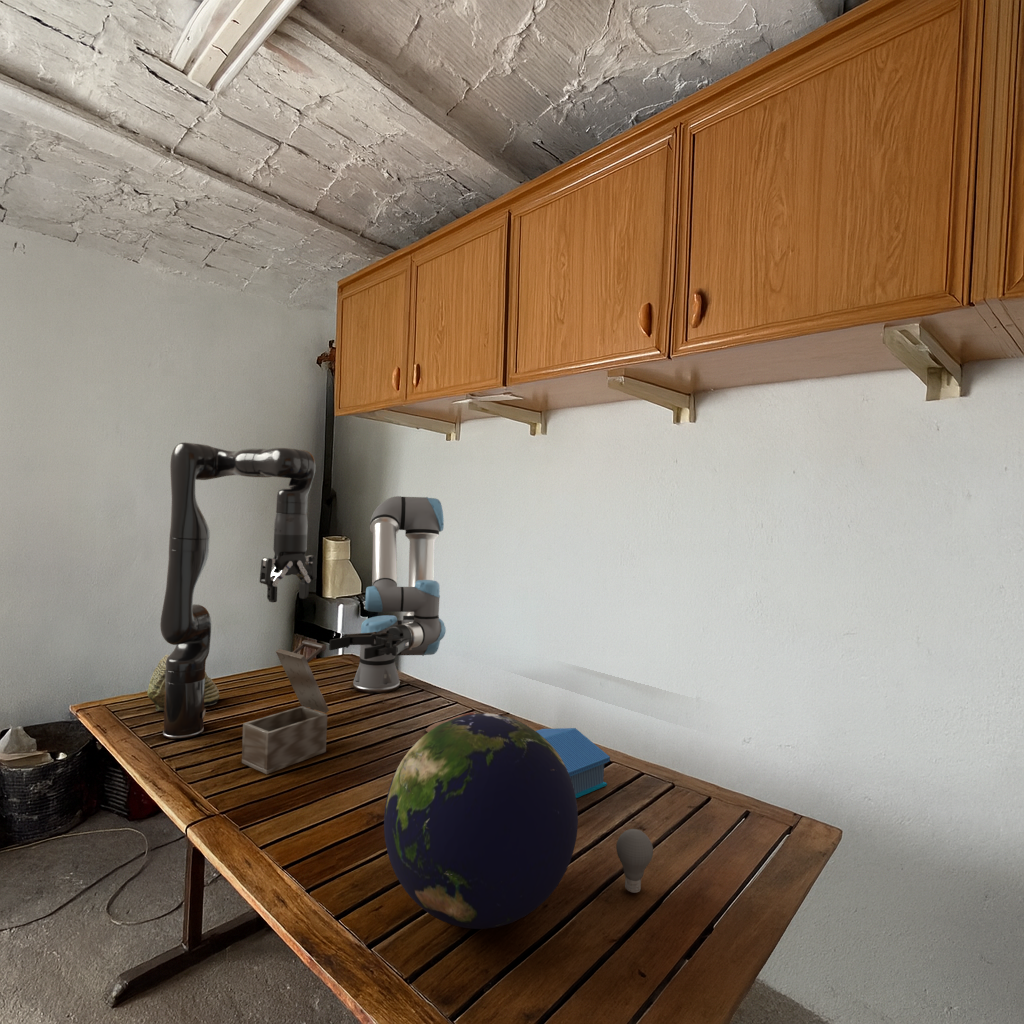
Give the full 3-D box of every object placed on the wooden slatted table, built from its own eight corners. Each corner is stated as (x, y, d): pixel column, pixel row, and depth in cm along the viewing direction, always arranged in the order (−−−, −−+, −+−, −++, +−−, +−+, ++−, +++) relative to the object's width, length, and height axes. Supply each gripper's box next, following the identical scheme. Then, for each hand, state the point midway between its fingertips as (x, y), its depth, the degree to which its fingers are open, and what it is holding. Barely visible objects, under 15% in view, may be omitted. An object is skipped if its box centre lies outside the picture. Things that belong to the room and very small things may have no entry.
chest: (266, 774, 143) (268, 733, 143) (241, 763, 149) (242, 723, 148) (326, 752, 157) (327, 714, 157) (301, 742, 162) (302, 705, 162)
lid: (300, 658, 149) (325, 638, 155) (275, 651, 155) (300, 632, 161) (325, 713, 156) (348, 691, 162) (300, 704, 162) (323, 684, 168)
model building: (485, 848, 116) (487, 795, 116) (411, 798, 134) (413, 751, 134) (618, 790, 143) (620, 746, 142) (541, 754, 161) (543, 715, 161)
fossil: (144, 707, 182) (145, 655, 182) (212, 696, 194) (213, 647, 194) (151, 716, 175) (153, 662, 175) (221, 703, 188) (223, 653, 188)
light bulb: (610, 879, 108) (613, 822, 108) (644, 879, 109) (647, 822, 109) (619, 902, 102) (622, 840, 102) (655, 901, 103) (658, 840, 103)
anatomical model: (422, 719, 171) (435, 706, 182) (421, 734, 171) (435, 720, 182) (469, 725, 168) (480, 711, 179) (469, 740, 168) (479, 725, 179)
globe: (338, 940, 91) (346, 732, 90) (439, 840, 119) (446, 681, 118) (534, 1012, 80) (544, 775, 79) (594, 883, 107) (603, 707, 107)
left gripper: (274, 534, 143) (271, 605, 143) (325, 532, 155) (322, 599, 155) (254, 532, 147) (252, 601, 148) (305, 531, 159) (302, 595, 159)
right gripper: (435, 657, 178) (380, 672, 160) (372, 642, 192) (315, 655, 174) (436, 630, 178) (381, 642, 160) (373, 618, 192) (317, 628, 174)
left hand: (288, 600), depth 151 cm, fingers open, 8 cm apart
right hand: (347, 649), depth 167 cm, fingers open, 13 cm apart
